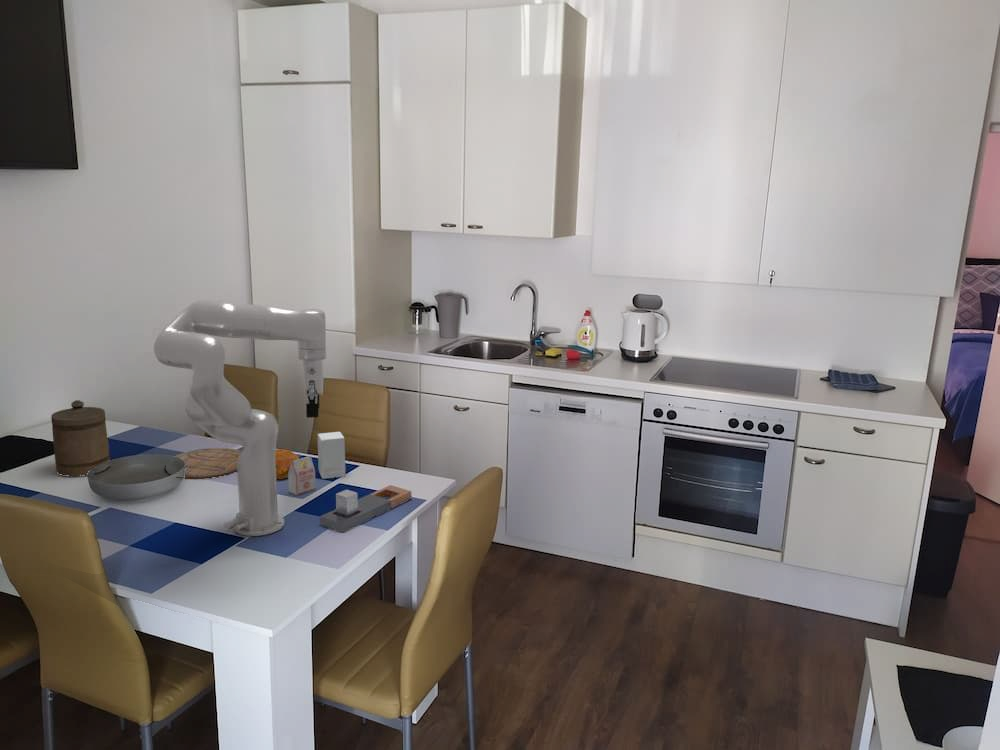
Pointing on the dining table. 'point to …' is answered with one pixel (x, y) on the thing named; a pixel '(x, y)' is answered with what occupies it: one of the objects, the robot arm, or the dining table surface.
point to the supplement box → (331, 455)
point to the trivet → (209, 462)
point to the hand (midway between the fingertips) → (313, 412)
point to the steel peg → (346, 503)
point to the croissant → (283, 462)
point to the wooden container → (79, 439)
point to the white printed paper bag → (301, 476)
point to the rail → (367, 508)
